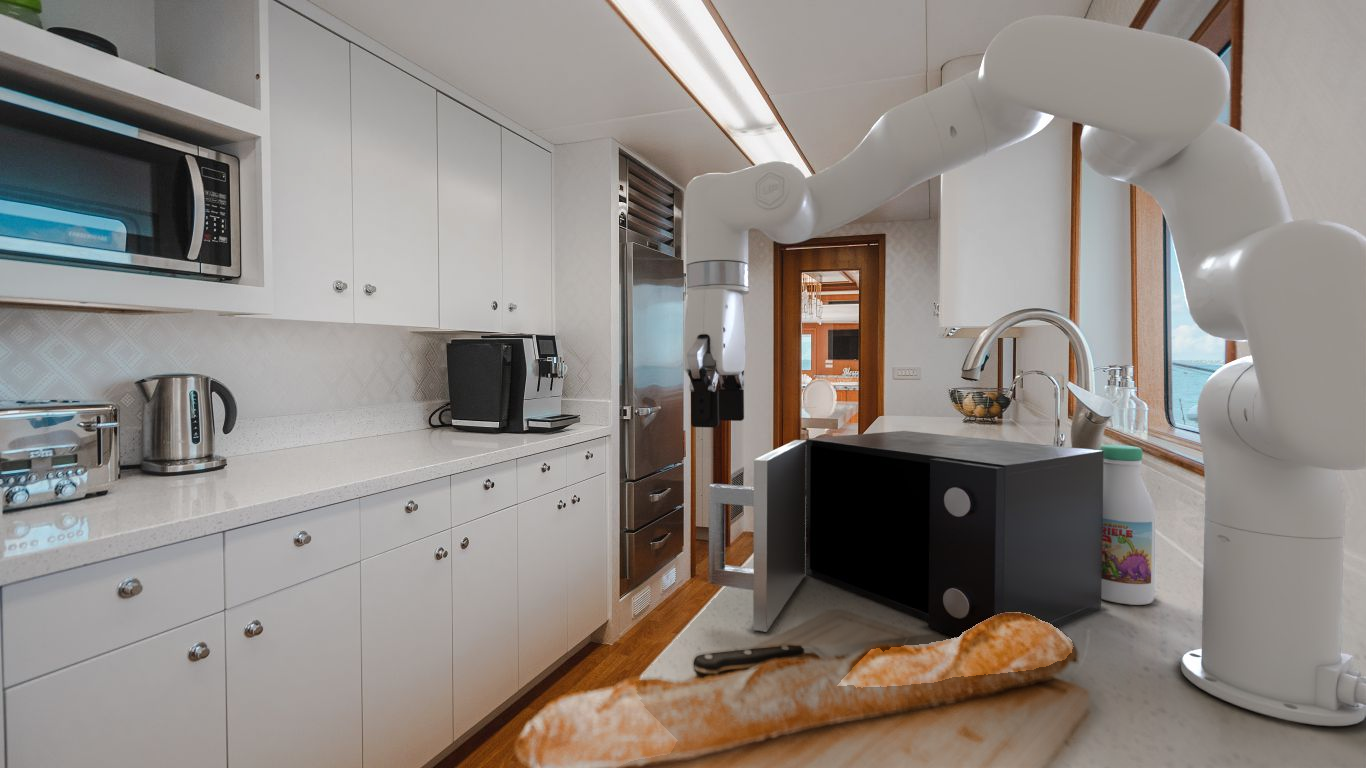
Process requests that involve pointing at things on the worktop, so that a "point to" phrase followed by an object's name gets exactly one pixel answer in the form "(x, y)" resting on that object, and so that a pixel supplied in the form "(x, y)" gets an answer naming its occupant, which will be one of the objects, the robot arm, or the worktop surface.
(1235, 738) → the worktop surface
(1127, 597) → the milk bottle
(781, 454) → the microwave door
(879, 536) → the microwave
